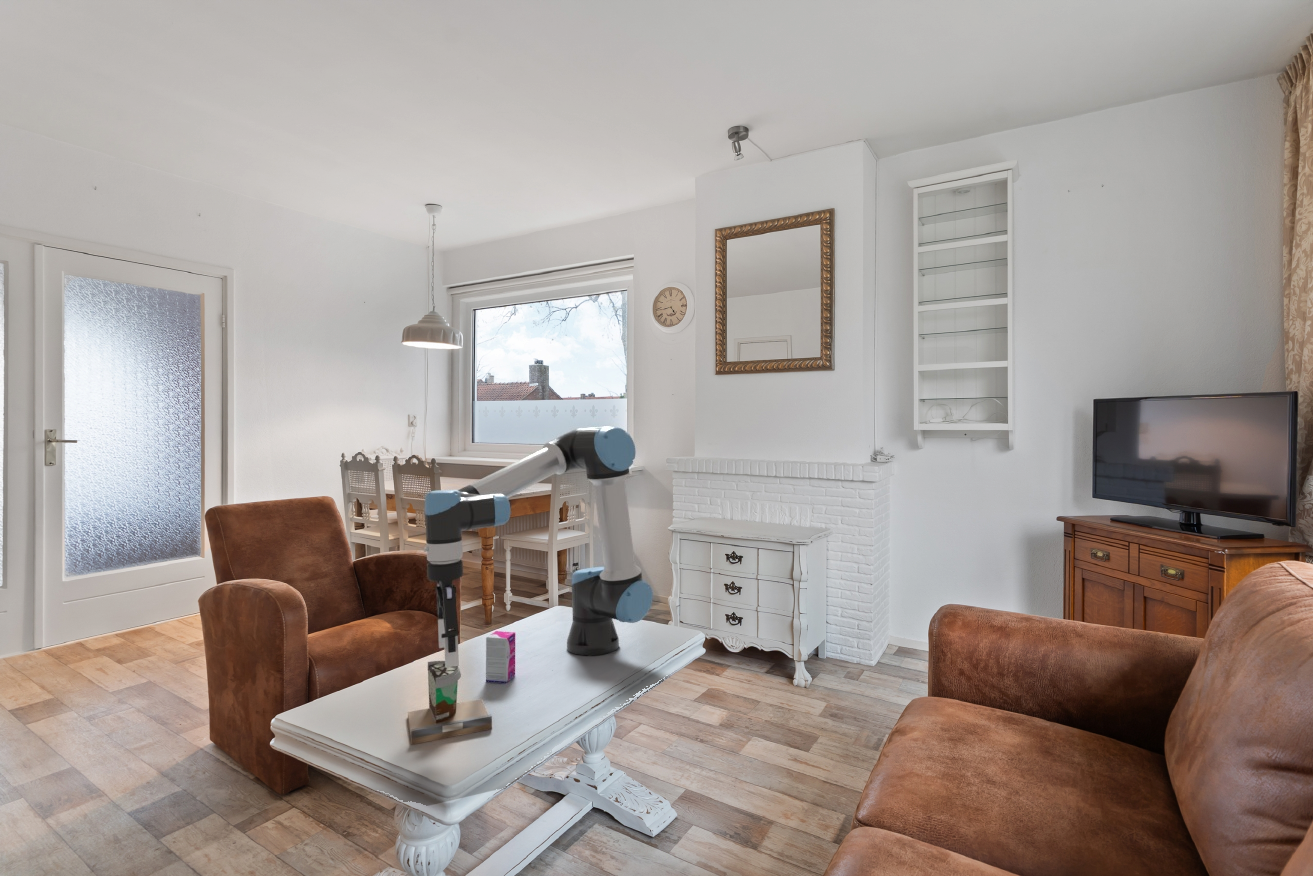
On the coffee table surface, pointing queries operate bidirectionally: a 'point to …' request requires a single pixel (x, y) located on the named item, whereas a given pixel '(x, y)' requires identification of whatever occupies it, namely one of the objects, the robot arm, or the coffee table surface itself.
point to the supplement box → (500, 657)
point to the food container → (442, 690)
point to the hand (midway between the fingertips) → (448, 656)
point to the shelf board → (449, 722)
